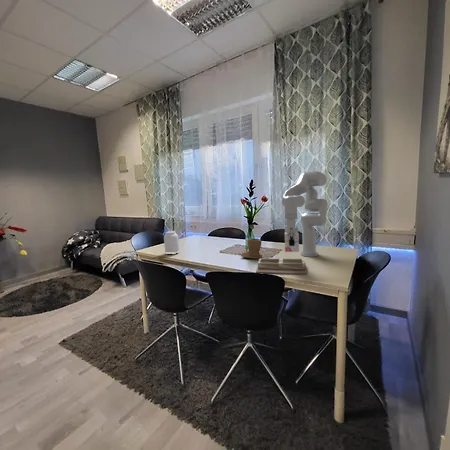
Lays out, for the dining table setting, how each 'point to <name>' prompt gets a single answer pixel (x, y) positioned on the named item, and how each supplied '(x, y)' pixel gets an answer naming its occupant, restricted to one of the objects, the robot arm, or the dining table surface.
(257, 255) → the brown boots
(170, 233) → the white jar
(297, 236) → the ink cartridge box
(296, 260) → the wooden frame
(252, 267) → the dining table surface
